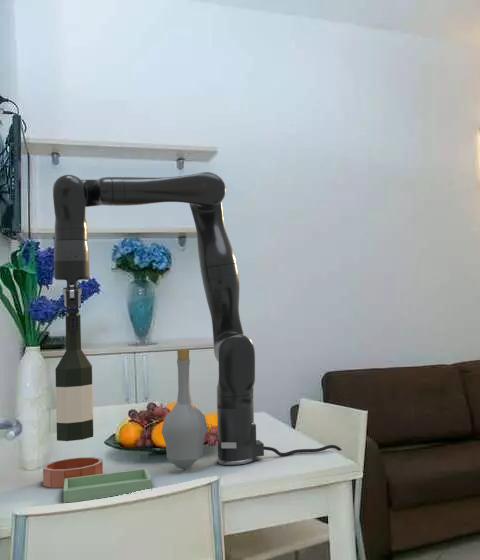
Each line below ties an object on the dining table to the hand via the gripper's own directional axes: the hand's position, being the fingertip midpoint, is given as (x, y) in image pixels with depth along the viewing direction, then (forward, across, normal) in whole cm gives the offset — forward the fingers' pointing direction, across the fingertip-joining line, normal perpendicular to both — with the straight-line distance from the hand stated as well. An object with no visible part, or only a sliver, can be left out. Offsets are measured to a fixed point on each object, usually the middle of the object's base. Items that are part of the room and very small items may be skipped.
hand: (73, 331), depth 162 cm
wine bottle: (+25, 0, 0) cm, 25 cm away
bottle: (+36, -3, -24) cm, 43 cm away
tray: (+35, -13, -6) cm, 38 cm away
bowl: (+35, +1, +1) cm, 35 cm away
